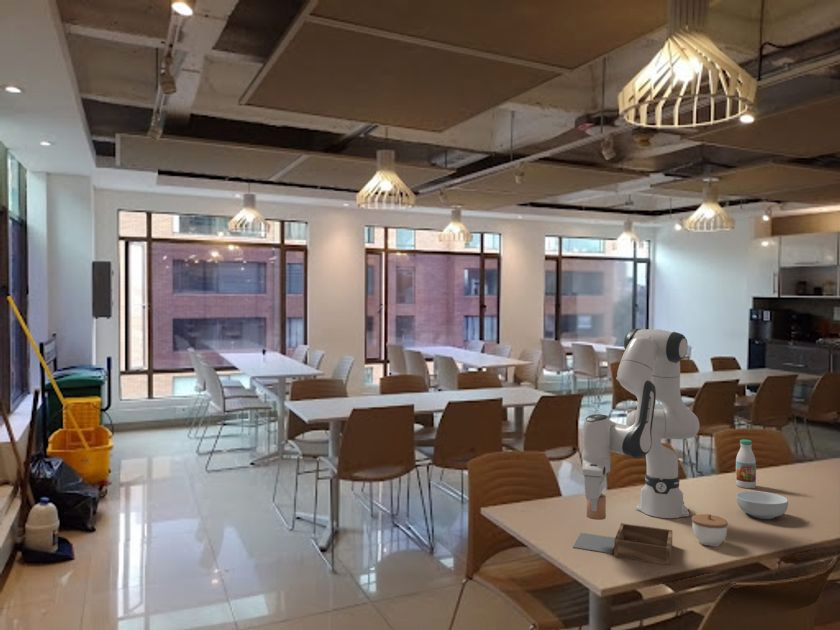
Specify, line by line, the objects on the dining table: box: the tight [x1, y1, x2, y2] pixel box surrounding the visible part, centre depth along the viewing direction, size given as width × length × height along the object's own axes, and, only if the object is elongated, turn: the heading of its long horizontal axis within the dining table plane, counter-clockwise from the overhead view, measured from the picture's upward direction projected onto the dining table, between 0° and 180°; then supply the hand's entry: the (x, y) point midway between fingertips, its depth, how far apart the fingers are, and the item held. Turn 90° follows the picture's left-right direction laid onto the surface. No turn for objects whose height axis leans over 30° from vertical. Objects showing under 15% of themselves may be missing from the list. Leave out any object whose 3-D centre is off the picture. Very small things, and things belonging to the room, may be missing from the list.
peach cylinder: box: [586, 493, 607, 521], centre depth 204 cm, size 6×6×7 cm
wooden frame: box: [613, 522, 673, 566], centre depth 198 cm, size 17×16×5 cm
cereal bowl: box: [735, 490, 789, 520], centre depth 232 cm, size 17×17×7 cm
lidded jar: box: [691, 513, 729, 547], centre depth 205 cm, size 11×11×9 cm
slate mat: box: [572, 532, 615, 555], centre depth 204 cm, size 14×12×1 cm
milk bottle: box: [735, 439, 757, 489], centre depth 271 cm, size 8×8×20 cm
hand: (596, 507), depth 204 cm, fingers closed on peach cylinder, 6 cm apart
